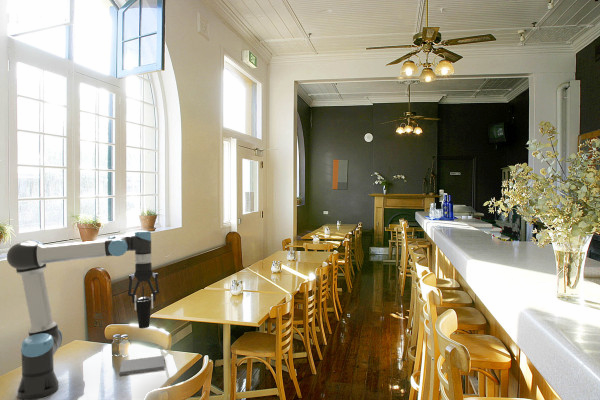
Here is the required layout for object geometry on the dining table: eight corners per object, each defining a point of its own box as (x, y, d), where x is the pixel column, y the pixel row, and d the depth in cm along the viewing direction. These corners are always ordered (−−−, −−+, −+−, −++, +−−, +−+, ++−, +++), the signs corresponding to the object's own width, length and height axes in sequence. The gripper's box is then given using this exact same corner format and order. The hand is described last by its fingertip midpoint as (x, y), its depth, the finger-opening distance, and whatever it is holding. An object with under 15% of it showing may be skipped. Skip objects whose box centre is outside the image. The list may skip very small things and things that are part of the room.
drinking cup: (149, 329, 206) (147, 288, 206) (133, 329, 206) (132, 288, 206) (154, 324, 214) (153, 284, 213) (139, 324, 214) (138, 284, 213)
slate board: (119, 375, 201) (119, 372, 201) (121, 363, 214) (121, 360, 214) (164, 369, 207) (164, 366, 207) (163, 358, 220) (163, 355, 220)
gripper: (120, 264, 203) (121, 312, 203) (164, 262, 209) (165, 308, 210) (122, 262, 210) (122, 308, 210) (164, 259, 216) (165, 304, 217)
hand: (144, 308), depth 210 cm, fingers closed on drinking cup, 7 cm apart
